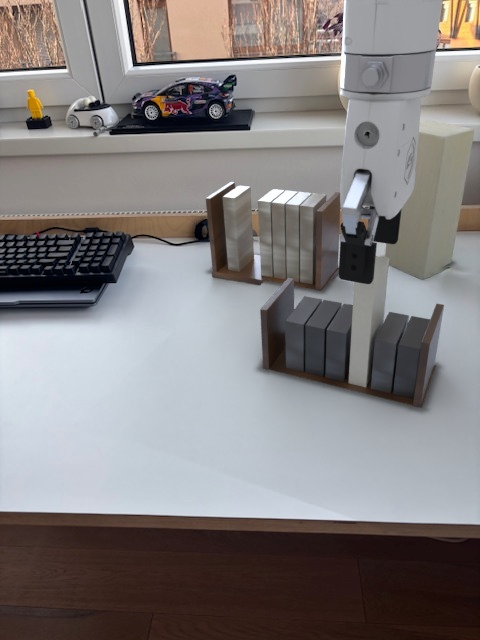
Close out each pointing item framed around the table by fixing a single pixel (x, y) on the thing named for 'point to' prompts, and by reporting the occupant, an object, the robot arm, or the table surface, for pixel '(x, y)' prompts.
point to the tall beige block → (433, 201)
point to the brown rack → (274, 236)
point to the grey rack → (348, 346)
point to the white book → (367, 322)
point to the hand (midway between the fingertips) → (369, 259)
